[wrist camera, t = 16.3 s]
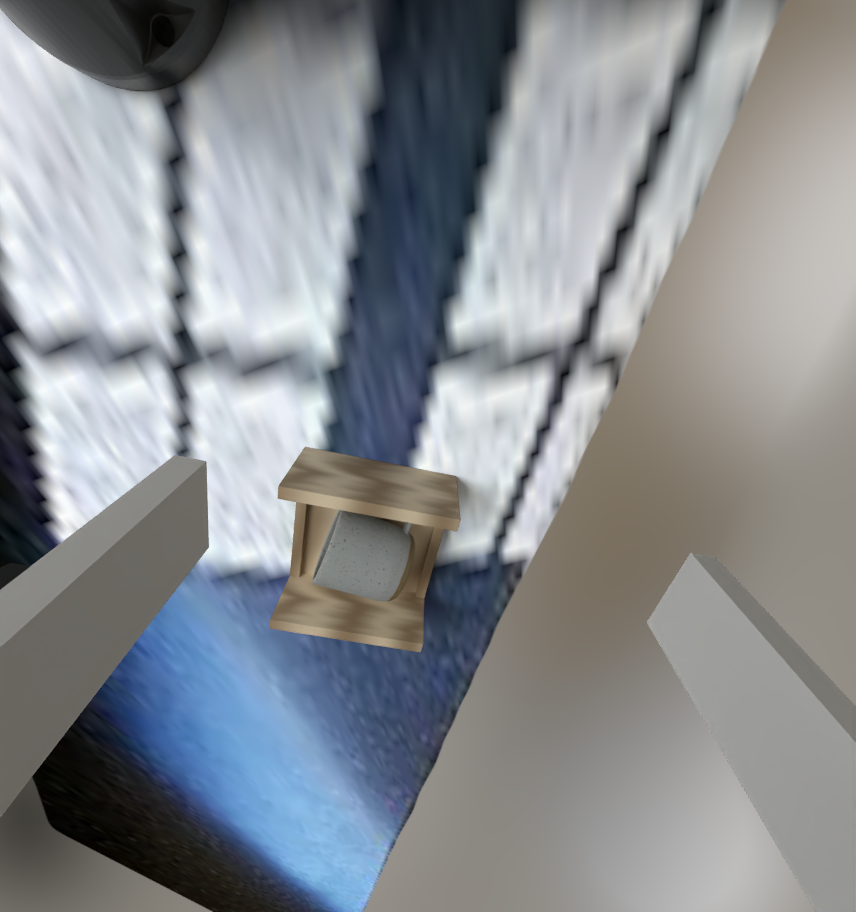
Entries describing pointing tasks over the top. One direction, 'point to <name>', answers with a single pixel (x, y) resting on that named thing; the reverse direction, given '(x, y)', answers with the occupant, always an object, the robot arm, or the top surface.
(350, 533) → the ceramic mug
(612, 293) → the top surface
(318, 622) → the holder
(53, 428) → the top surface
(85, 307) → the top surface
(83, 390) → the top surface
